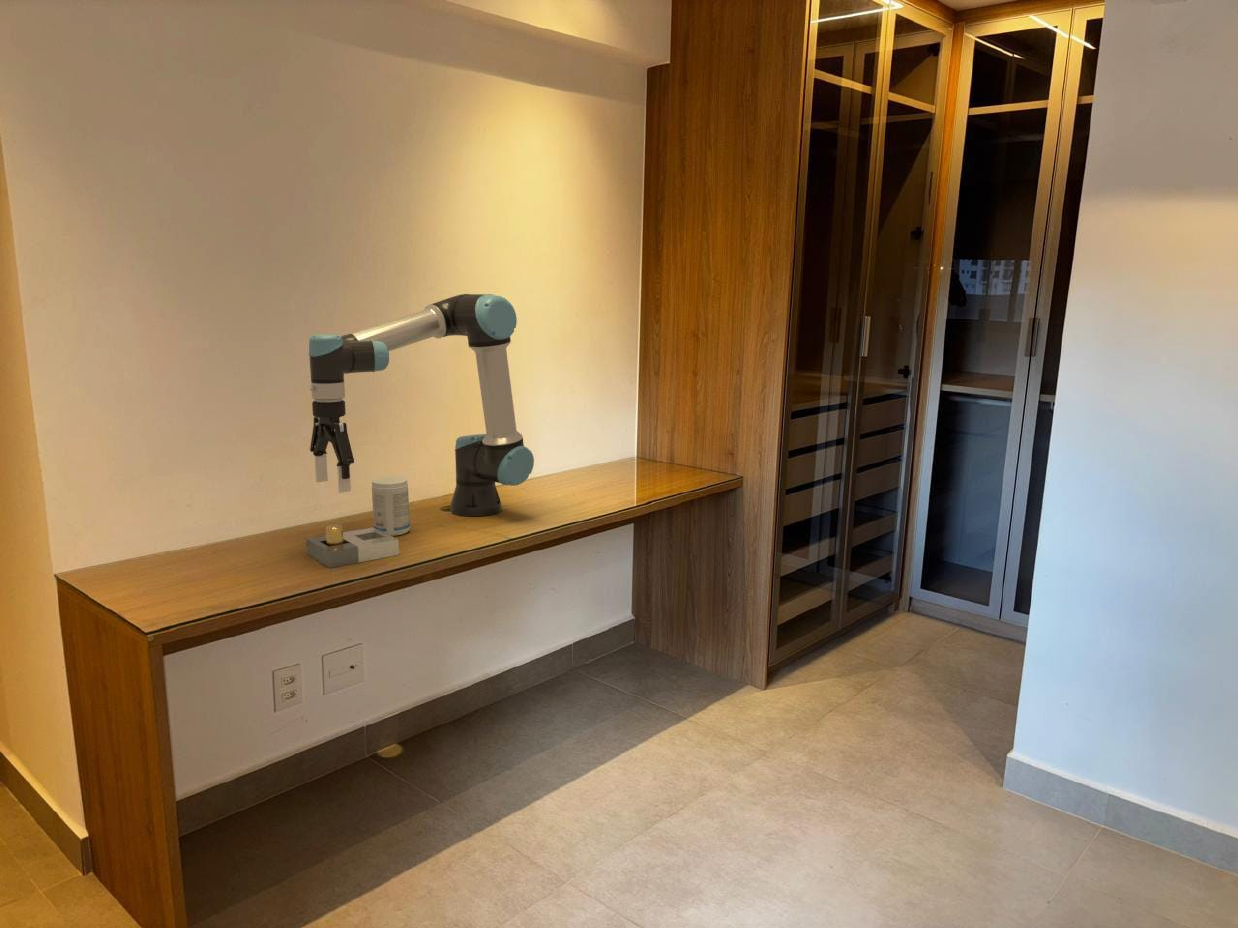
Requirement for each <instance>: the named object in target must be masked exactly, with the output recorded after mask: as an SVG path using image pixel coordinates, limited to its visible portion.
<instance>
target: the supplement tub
mask: <svg viewBox="0 0 1238 928" xmlns="http://www.w3.org/2000/svg"><path fill="white" fill-rule="evenodd" d="M408 485H409V484H408V479H407V478H406V477H404V476H383V477H382V476H381V477H377V478H374V479H373V480H372V481H371V497H372V514H373V527H374V528H376V529H378V530H380V531H382V532H384V533H386V534H389V535H391V536H393V537H396V536H402V535H405V534H407V533H409V531H410V529H411V522H410V521H411V520H410V504H409V503H410V502H409V501H410V500H409V498H410V497H409V486H408Z"/></svg>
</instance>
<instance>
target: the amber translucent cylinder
mask: <svg viewBox="0 0 1238 928" xmlns="http://www.w3.org/2000/svg"><path fill="white" fill-rule="evenodd" d="M343 532H344V527H343V525H342V524H338V523H337V524H335V523H334V524H329V525H326V526H325V535H326V545H327V546H328V547H329V546H335V545H341V544H343Z"/></svg>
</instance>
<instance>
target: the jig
mask: <svg viewBox="0 0 1238 928" xmlns="http://www.w3.org/2000/svg"><path fill="white" fill-rule="evenodd" d="M305 544H306V545H305V547H306V555H308V557H311V558H313V559H314V560H316V561H317V562H319V563H320V564H322V565H324V566H325V567H327V568H328V569H331V568H337V567H343V566H348V565H352V564H358V563H363V562H369V561H373V560H378V559H383V558H388V557H389V558H390V557H394V556H395V557H396V556H399V555H400V546H399V545H400V544H399V538H397V537H396V536H391V535H389V534H386V533H384V532H382V531H380V530H378V529H376V528H374V526H373V527H368V528H363V529H361V528H360V529H356V530H355V529H354V530H350V531H343V544H341V545H335V546H329V547H328V546H327V545H326V534H325V535H321V536H313V537H308V538H305Z"/></svg>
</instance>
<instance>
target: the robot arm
mask: <svg viewBox="0 0 1238 928" xmlns="http://www.w3.org/2000/svg"><path fill="white" fill-rule="evenodd" d="M517 320H518V318H517V313H516V310H515V308H514V306H513V305H512V303H511V302H510V301H509V300H508V299H507V298H505V297H503V296H501V295H495V294H492V293H490V294H489V293H486V294H485V293H484V294H483V293H482V294H480V293H471V294H470V293H462V294H458V295H454V296H451V297H448V298H445V299H442V300H439V301H436V302H434V303H430V304H427V305H426V306H425V307H424V309H423V310H420V311H417V312H413V313H412V314H409V315H404V316H401V317H397V318H396V319H392V320H388V321H386V322H383V323H380V324H375V325H372V326H370V327H366V328H363V329H361V330H360V329H359V330H357V331H353V332H350V333H348V334H344V335H340V334H336V333H335V334H333V333H330V334H327V333H325V334H322V333H321V334H312V335H311V336H310V337H309V341H308V356H309V368H310V369H309V370H310V371H309V372H310V379H311V380H310V384H311V385H310V387H309V391H311V399H313V401H312V402H311V406H312V407H311V408H312V416H313V427H312V434H311V440H310V441H311V442H310V447H309V451H310V452H311V453H312V454H313V456H314V469H315V470H314V471H315V482H316V483H323V482H328V481H329V480H328V479H329V477H328V463H327V461H328V460H327V455H328V452H327V447H328V444H329V443H331V445H332V447H333V450H334V451H333V452H334V454H335V456H336V459H337V464H336V467H337V485H338V493H348V492H351V491H352V487H351V467H350V466H351V465H352V464H355V458H354V454H353V451H352V447H351V442H350V439H349V435H348V428H347V427H348V425H347V423H346V422H341V420H340V418H341V417H342V418H343V417H344V416H346V411H347V410H346V401H345V400H344V399H345V398H346V391H345V390H346V389H345V379H344V378H345V374H355V373H356V374H359V373H375V372H382V371H384V370H385V369H387V367H388V366H389V364H390V352H392V351H395V350H398V349H400V348H404V347H406V346H409V345H412V344H415V343H416V344H417V343H418V342H421V341H424V340H428V339H430V338H435V339H441V338H445V337H450V336H461V337H463V336H464V337H467V344H468V348H470V349H471V350H472V351H474V353H475V361H476V367H477V374H478V383H479V389H480V395H481V404H482V410H483V417H484V418H483V420H484V426H485V432H486V433H479V434H470V435H463V436H459V437H457V438H456V440H455V446H454V452H455V455H454V456H455V458H454V459H455V488H454V491H453V495H452V498H451V502H450V512H451V513H452V514H454V515H457V516H464V517H485V516H491V515H496V514H498V513H500V512H501V511H502V501H501V497H500V495H499V492H498V489H497V486H496V483H498V484H501V485H503V486H513V487H515V486H518V485H519V486H520V485H521V484H523V483H525V482H526V480H527V479H528V478H529V476H530V474H532V472H533V469H534V463H535V457H534V454H533V452H532V450H530V449H529V448H528V447H527V446H525V443H524V437H523V434H522V433H521V432H519V431H518V429H517V423H516V416H515V408H514V400H513V392H512V383H511V375H510V367H509V360H508V352H507V347H509V346H510V344H511V341H512V340H511V336H512V335H513V334H514V332H515V329H516V328H517V324H518V322H517Z"/></svg>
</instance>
